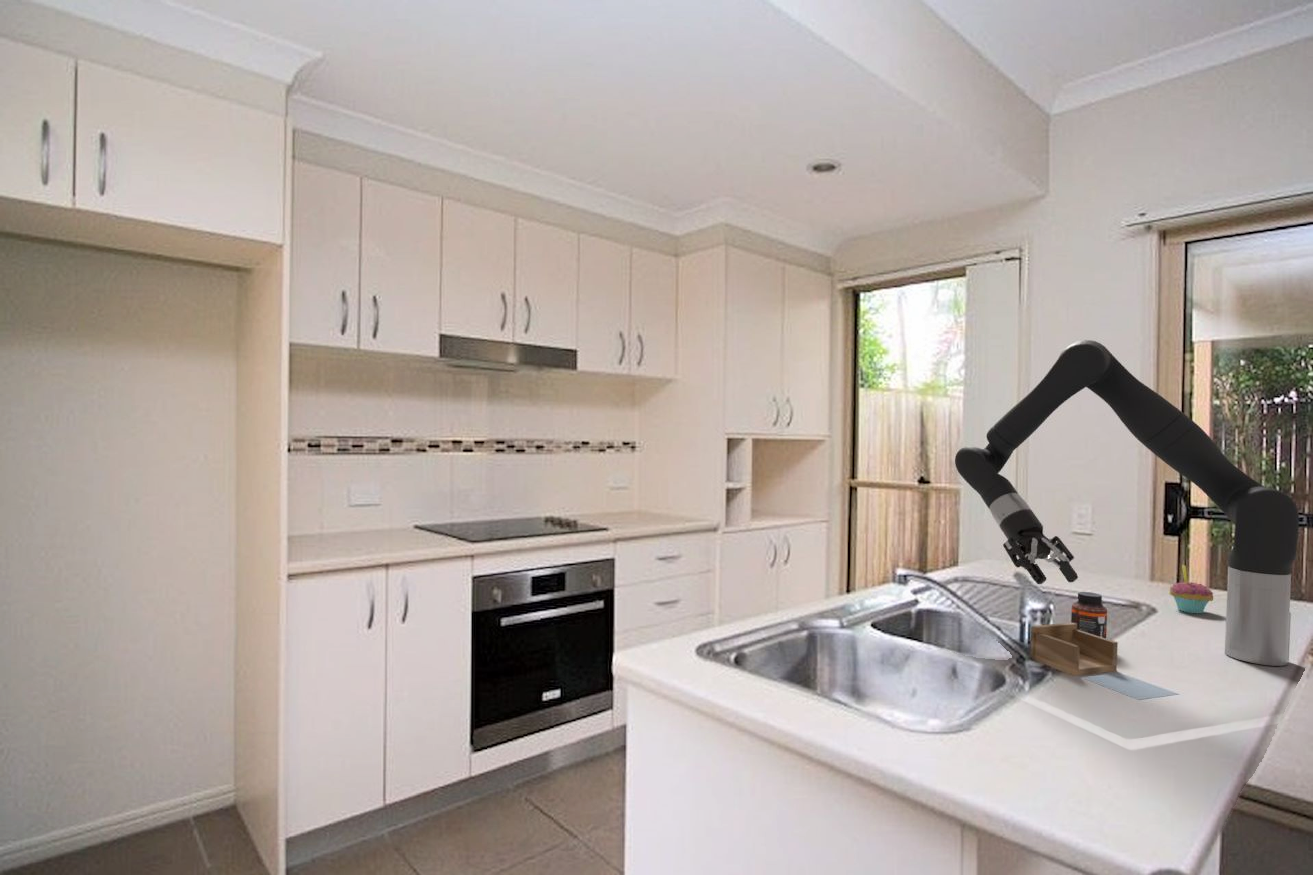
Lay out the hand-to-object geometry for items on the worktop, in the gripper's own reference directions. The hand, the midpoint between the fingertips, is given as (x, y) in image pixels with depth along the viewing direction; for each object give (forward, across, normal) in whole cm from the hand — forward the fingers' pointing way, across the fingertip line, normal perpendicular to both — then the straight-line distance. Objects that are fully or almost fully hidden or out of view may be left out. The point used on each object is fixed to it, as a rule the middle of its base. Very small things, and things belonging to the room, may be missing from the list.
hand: (1058, 581), depth 142 cm
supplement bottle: (+14, 0, +4) cm, 14 cm away
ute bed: (+19, -13, -2) cm, 23 cm away
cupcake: (+2, +55, +16) cm, 57 cm away
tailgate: (+22, -13, -6) cm, 26 cm away
